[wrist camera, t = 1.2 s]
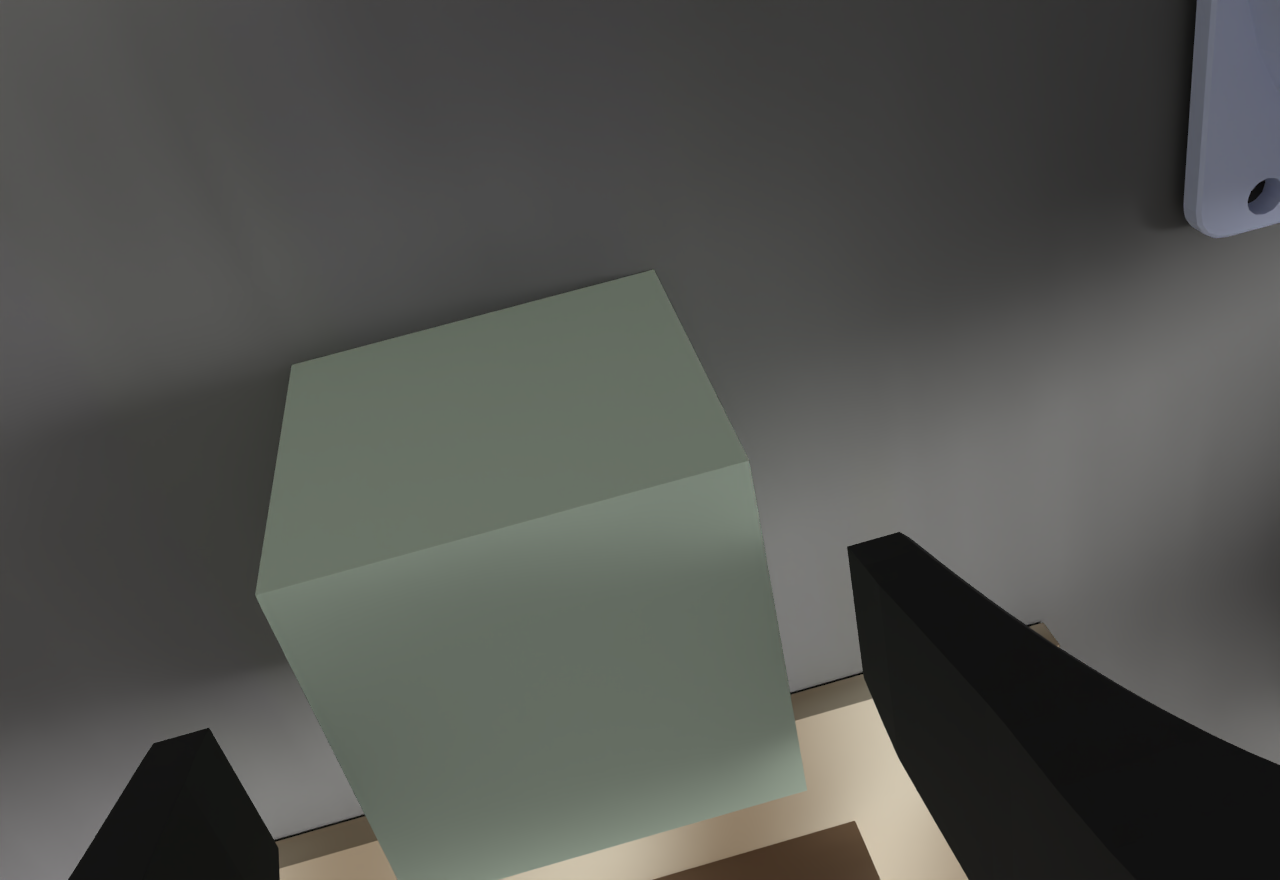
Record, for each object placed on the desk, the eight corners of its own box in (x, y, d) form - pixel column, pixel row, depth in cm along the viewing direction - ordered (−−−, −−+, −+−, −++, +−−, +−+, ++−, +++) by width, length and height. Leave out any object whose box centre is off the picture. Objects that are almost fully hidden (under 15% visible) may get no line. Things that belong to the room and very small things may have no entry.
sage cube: (652, 266, 16) (748, 461, 11) (711, 549, 18) (807, 790, 14) (291, 362, 15) (255, 595, 11) (405, 634, 18) (410, 904, 14)
